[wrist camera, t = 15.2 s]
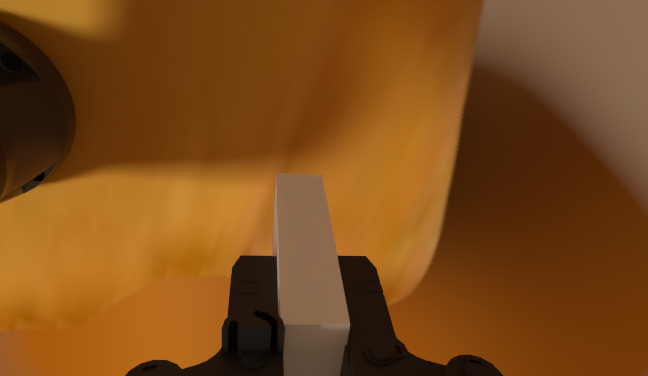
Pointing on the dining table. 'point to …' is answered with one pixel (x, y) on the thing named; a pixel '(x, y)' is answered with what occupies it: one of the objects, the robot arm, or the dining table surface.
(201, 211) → the dining table surface
